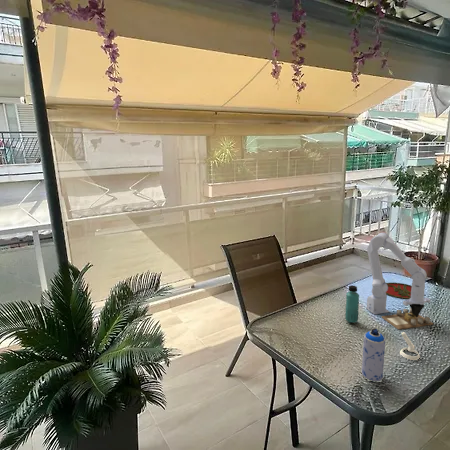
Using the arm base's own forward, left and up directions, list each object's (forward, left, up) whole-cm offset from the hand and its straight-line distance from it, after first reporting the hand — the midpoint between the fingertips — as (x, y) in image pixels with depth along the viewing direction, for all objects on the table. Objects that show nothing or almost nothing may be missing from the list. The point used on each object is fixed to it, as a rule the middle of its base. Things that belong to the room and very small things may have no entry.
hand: (415, 316), depth 160 cm
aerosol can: (-49, -33, -2) cm, 59 cm away
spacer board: (-5, 0, -2) cm, 5 cm away
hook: (-25, -25, -2) cm, 35 cm away
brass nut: (-3, 0, -1) cm, 3 cm away
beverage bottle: (-33, +6, -2) cm, 34 cm away
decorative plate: (+19, +33, -3) cm, 38 cm away
